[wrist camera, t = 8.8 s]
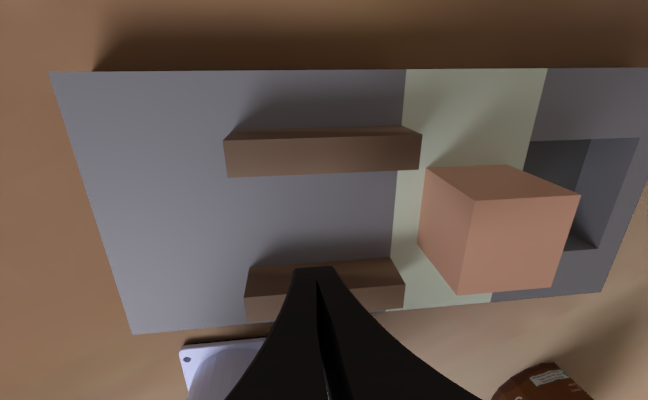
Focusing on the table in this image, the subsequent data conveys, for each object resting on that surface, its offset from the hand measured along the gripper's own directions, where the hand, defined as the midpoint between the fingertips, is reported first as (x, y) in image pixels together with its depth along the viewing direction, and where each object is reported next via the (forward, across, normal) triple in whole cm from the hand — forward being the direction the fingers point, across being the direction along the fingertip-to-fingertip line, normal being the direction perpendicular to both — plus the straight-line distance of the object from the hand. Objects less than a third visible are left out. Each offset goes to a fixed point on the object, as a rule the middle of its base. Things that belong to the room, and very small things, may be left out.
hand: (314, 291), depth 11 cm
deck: (+9, -5, 0) cm, 10 cm away
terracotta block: (+6, -9, 0) cm, 11 cm away
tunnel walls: (+6, -1, 0) cm, 6 cm away
